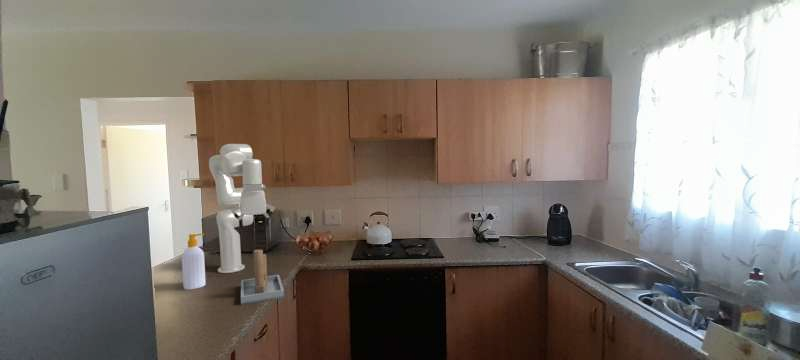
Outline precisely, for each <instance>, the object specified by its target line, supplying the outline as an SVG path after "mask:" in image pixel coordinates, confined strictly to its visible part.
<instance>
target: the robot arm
mask: <svg viewBox="0 0 800 360" xmlns="http://www.w3.org/2000/svg"><path fill="white" fill-rule="evenodd" d="M253 153H254V152H253V149H252V147H251V146H250V145H249V144H247V143H227V144H224V145H223V146H221V148H220V149H219V154H216V155H211V156H210V158H209V161H208V168H209V171H210V173H211V175H212V177H213V180H214V182H215V190H216V199H217V203H218V205H219V206H220V207H221V208H227V209H223V210H220V211H218V212H217V214H216V224H217V228H218V234H219V252H220V256H219V257H220V267H219V268H218V269H217V272H218V273H220V274H231V273H235V272H237V273H238V272H240V271H243V270H244V269H245V264H243V263H242V252H241V250H242V248H241V235H240V233H239V231H238V230H236V229H235V228H237V227H238V228H240V229H241V230H243V229H244V227H245V226H250V225H252V224H253V222H254V216H255V215H263V216H265V217H264V227H265V228H268V226H269V225H270V222H269V219H270V217H271V216H272V215H273V212H274V211H275V209H276V207H275V206H273V205H270V204H268V203H267V201H266V194H265V190H263V189H266V187H267V185H266V184H263V177H262V176H263V173H262V171H263V170H262V162H261V160H260V159H257V158H256V159H255V158H253ZM233 177H242V187H237V188H236V187H235V184H234V179H233ZM233 207H234V208H233ZM228 208H229V209H228ZM267 209H270V211H269V212H268V213H267Z"/></svg>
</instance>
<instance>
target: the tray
mask: <svg viewBox="0 0 800 360" xmlns="http://www.w3.org/2000/svg"><path fill="white" fill-rule="evenodd" d="M283 298H285V289H284V286H283V283H282V279H281V276H280V274H273V275H269V276H268V275H267V287H266V290H265V292H264V293H259V294H255V277H254V278H248V279H241V280H240V305H241V306H242V305H249V304H254V303H260V302H265V301H272V300H276V299H283Z"/></svg>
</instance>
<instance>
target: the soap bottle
mask: <svg viewBox="0 0 800 360" xmlns="http://www.w3.org/2000/svg"><path fill="white" fill-rule="evenodd" d="M199 236H205V234H204V233H197V234H196V233H194V234H193V233H191V234H188V237H189V239H188V241H187V248H186V249H185V250H184V251H183V253H182V256H181V266H182V267H181V268H182V283H183V286H182V287H183V289H184V290H187V291H188V290H190V291H191V290H195V289H196V290H197V289H200V288H203V287H204V286H206V267H205V266H206V265H205V253H204V250H203V249H201V248H200V247H199V246H198V241H197V240H196V238H195V237H199Z"/></svg>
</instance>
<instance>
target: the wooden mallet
mask: <svg viewBox="0 0 800 360" xmlns="http://www.w3.org/2000/svg"><path fill="white" fill-rule="evenodd" d="M263 251H264V250H263V249H254V250H253V270H254V278H255V294H259V293H264V292H265V290H266V287H267V276H268V272H267V271H268V270H267V269H268V266H267V265H268V264H267V254H266V253H264V252H263Z"/></svg>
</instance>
